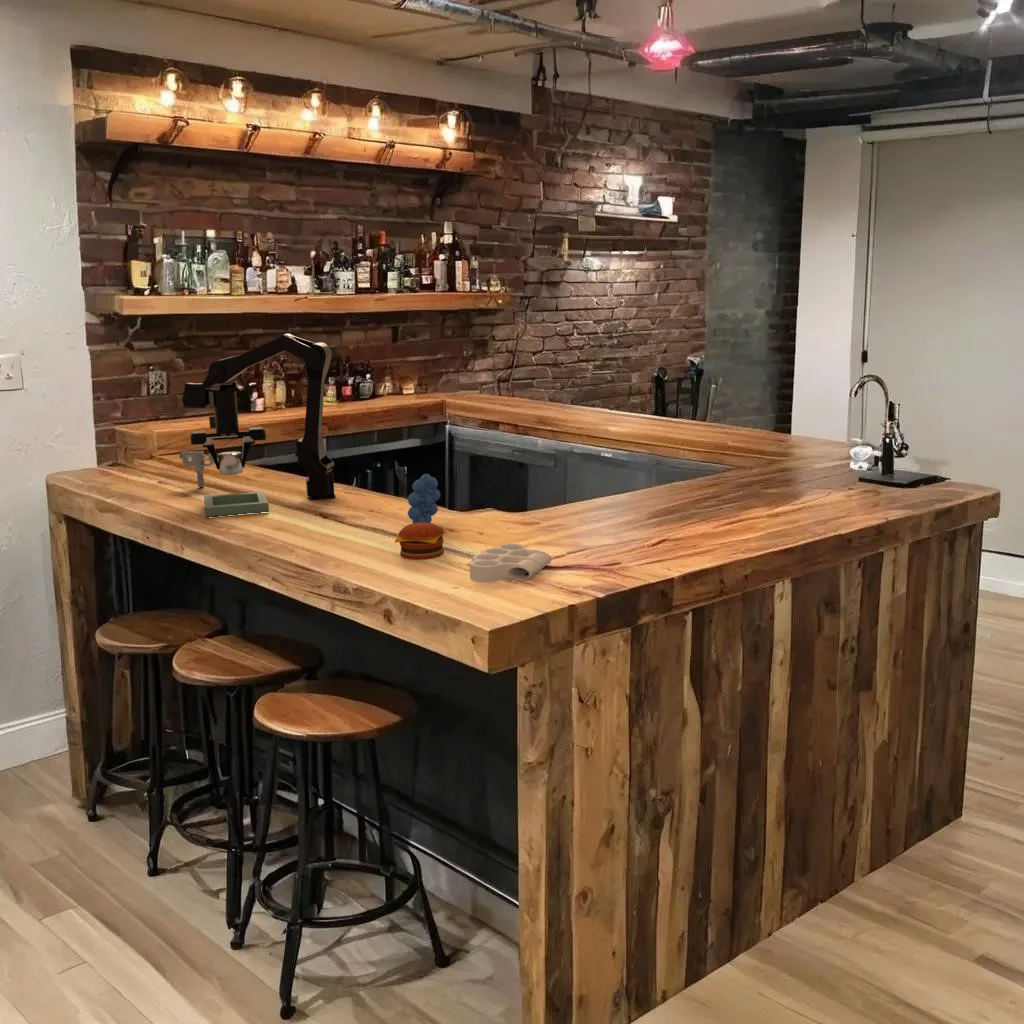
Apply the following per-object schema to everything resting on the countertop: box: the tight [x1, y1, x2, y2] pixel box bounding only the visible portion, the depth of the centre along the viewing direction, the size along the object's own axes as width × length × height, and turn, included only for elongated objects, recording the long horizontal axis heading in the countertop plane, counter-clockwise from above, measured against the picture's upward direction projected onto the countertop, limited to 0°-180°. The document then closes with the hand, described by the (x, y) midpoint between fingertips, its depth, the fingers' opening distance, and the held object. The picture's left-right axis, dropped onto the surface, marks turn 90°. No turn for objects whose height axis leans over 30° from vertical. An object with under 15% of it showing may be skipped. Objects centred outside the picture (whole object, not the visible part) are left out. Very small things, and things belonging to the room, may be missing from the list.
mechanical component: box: [179, 450, 218, 488], centre depth 309 cm, size 3×10×10 cm, turn 79°
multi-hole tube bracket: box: [465, 543, 552, 583], centre depth 220 cm, size 3×18×15 cm
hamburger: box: [393, 522, 448, 561], centre depth 233 cm, size 9×10×7 cm
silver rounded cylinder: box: [217, 451, 244, 476], centre depth 293 cm, size 6×6×5 cm
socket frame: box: [203, 490, 270, 519], centre depth 281 cm, size 15×15×3 cm
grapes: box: [407, 473, 441, 524], centre depth 257 cm, size 12×7×12 cm, turn 151°
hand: (230, 468), depth 294 cm, fingers closed on silver rounded cylinder, 6 cm apart
